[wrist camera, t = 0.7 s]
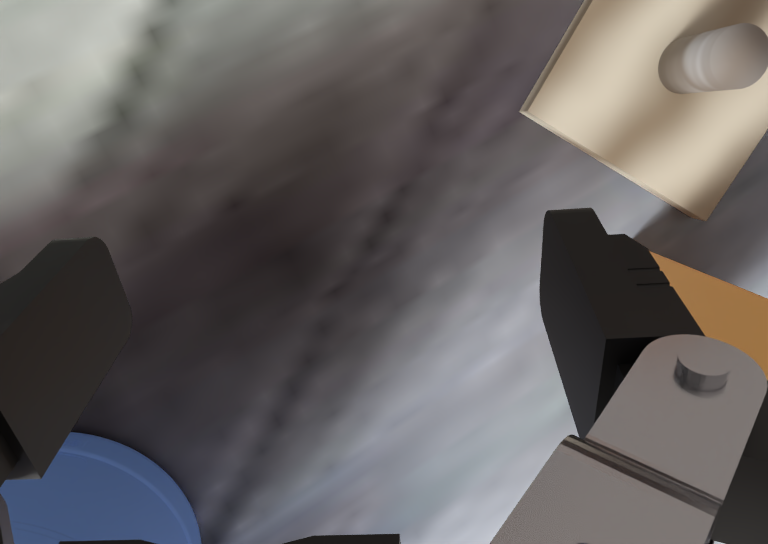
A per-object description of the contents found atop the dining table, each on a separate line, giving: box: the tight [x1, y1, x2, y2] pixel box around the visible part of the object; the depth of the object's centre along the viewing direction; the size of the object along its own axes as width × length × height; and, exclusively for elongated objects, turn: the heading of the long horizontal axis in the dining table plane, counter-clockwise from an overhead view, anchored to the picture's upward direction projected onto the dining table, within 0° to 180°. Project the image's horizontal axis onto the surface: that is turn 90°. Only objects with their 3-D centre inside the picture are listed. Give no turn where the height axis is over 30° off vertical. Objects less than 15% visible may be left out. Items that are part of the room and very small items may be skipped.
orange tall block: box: [649, 251, 768, 380], centre depth 29 cm, size 6×6×14 cm
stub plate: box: [519, 0, 768, 221], centre depth 30 cm, size 12×12×6 cm
